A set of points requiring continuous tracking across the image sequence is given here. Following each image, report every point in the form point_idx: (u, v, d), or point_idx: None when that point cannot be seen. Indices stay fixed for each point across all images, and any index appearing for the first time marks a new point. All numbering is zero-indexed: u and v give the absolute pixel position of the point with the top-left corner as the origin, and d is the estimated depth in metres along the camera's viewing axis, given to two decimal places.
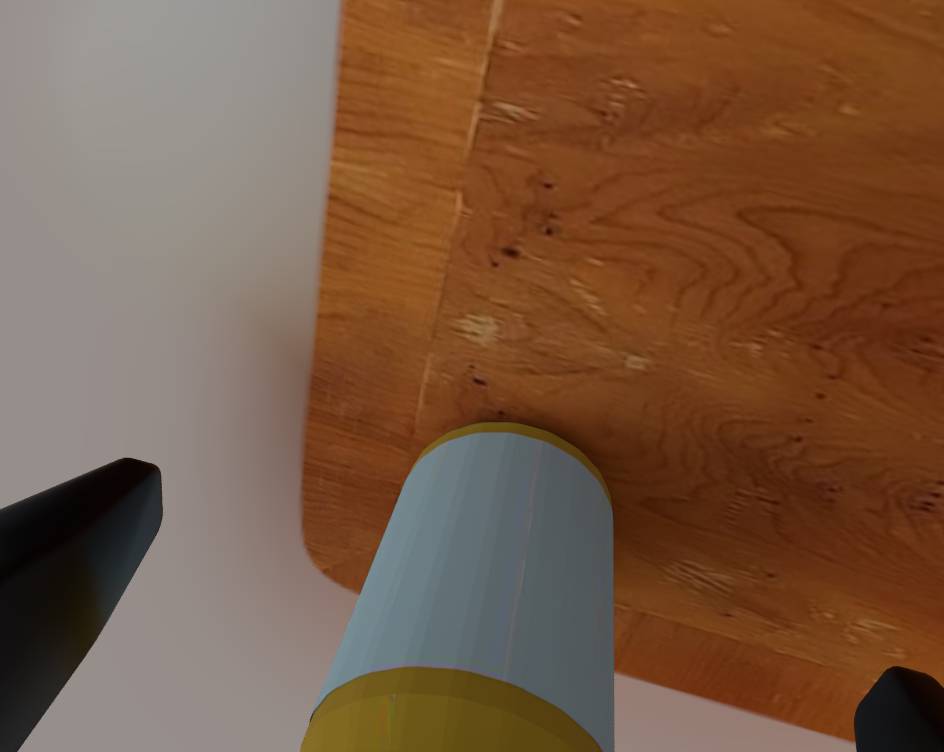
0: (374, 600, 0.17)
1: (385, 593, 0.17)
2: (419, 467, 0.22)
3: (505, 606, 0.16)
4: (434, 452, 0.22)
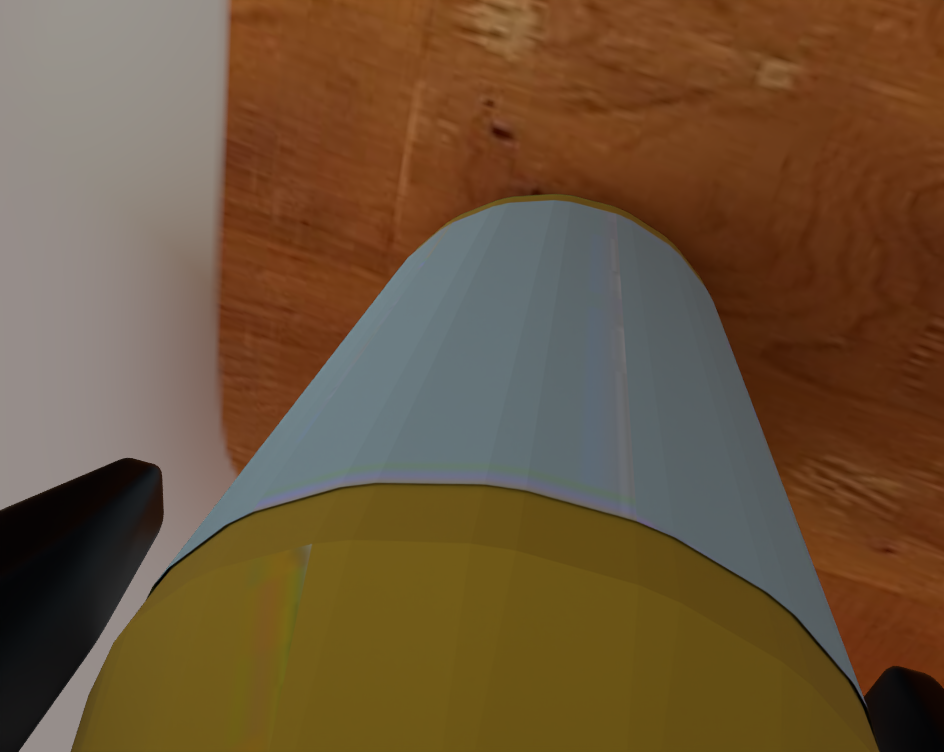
0: (297, 409, 0.08)
1: (320, 393, 0.08)
2: (402, 266, 0.13)
3: (596, 386, 0.07)
4: (428, 240, 0.13)
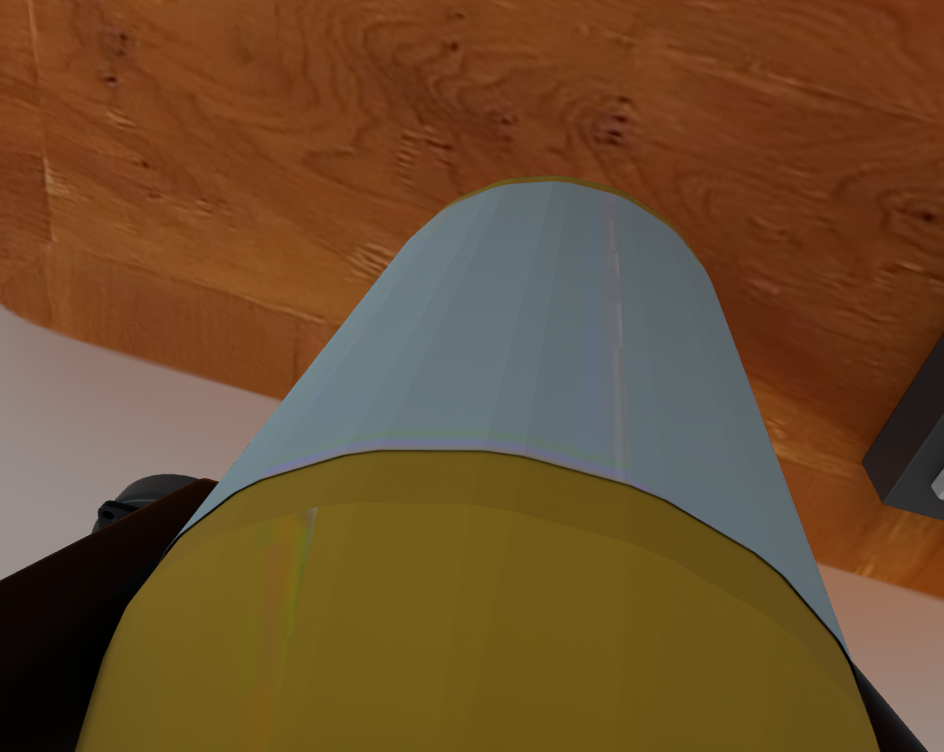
0: (301, 385, 0.08)
1: (323, 368, 0.08)
2: (403, 247, 0.13)
3: (592, 359, 0.07)
4: (429, 222, 0.13)
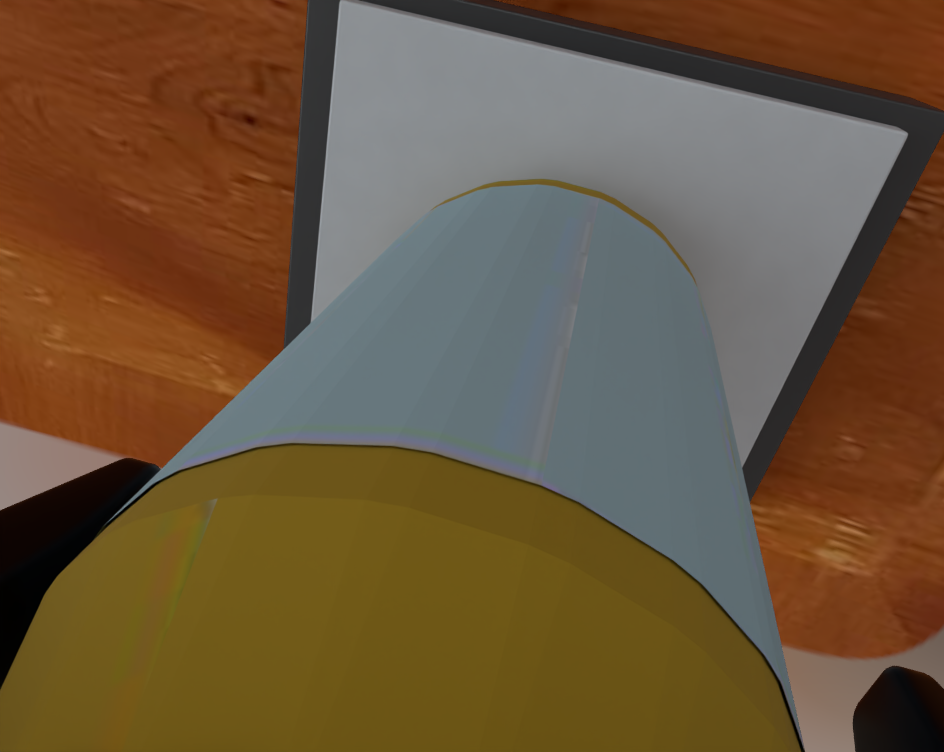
0: (252, 381, 0.08)
1: (275, 365, 0.08)
2: (386, 249, 0.13)
3: (534, 360, 0.07)
4: (413, 224, 0.13)
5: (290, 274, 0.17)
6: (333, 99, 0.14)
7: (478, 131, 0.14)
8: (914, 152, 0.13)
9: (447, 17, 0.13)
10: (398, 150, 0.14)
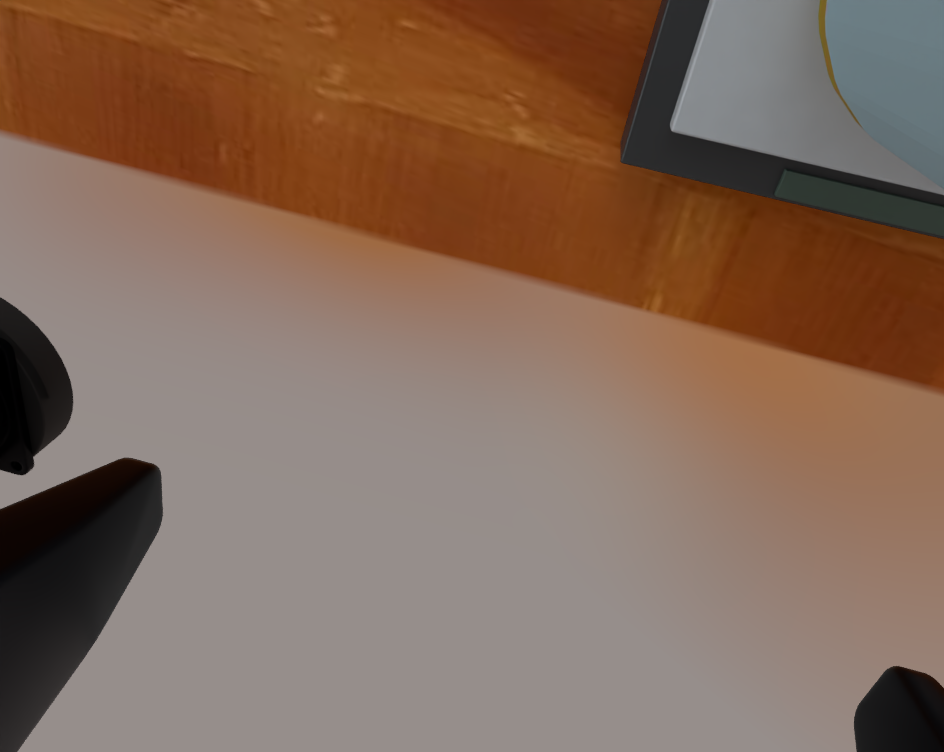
0: None
1: None
2: None
3: None
4: None
5: None
6: None
7: None
8: None
9: None
10: None
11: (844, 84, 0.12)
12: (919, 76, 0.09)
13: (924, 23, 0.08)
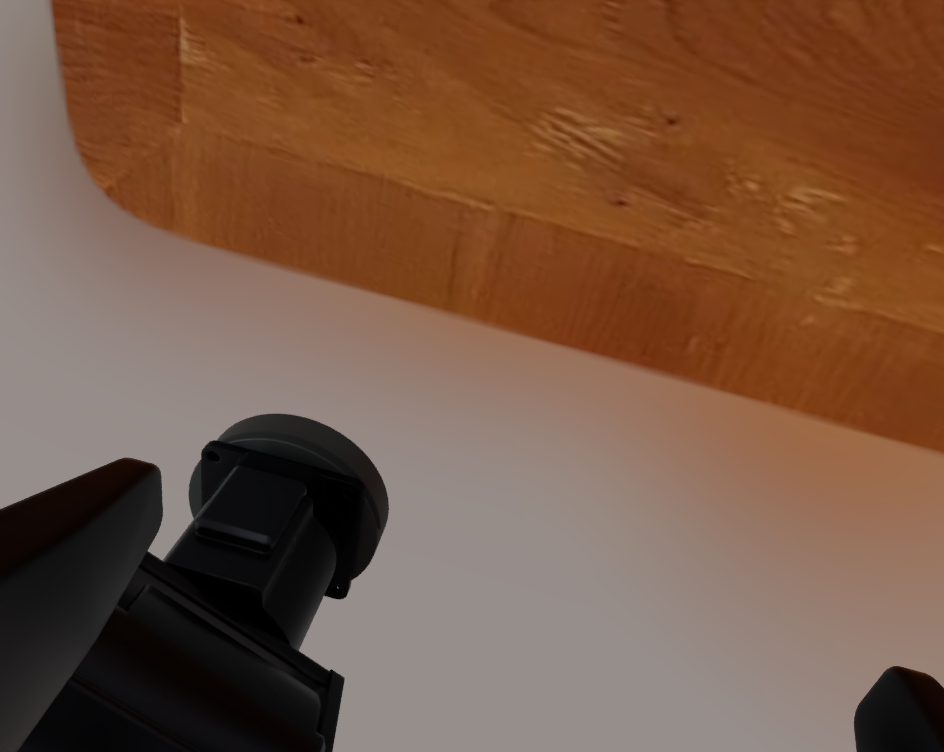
0: None
1: None
2: None
3: None
4: None
5: None
6: None
7: None
8: None
9: None
10: None
11: None
12: None
13: None
